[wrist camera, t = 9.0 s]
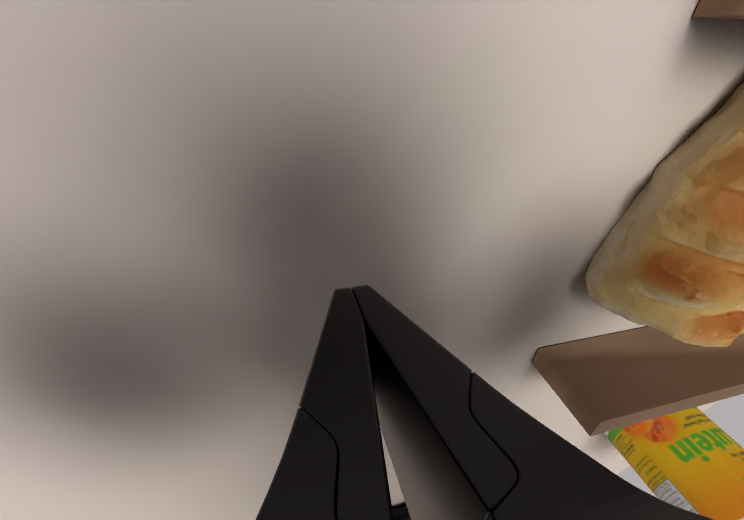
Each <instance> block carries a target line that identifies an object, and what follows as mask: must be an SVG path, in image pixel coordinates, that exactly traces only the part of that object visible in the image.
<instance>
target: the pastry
mask: <svg viewBox="0 0 744 520" xmlns="http://www.w3.org/2000/svg"><path fill="white" fill-rule="evenodd" d="M585 282H586V283H587V291H588V294H589V296H590V298H591V299H592V300H593V301H594V302H596V303H598V304H599V305H601V306H602V307H604V308H606V309H607V310H609V311H611V312H613V313H615V314H617V315H620V316H622V317H624V318H626V319H627V320H629V321H631V322H634V323H636V324H640V325H646V326H649V327H651V328H654V329H656V330H659V331H661V332H663V333H665V334H667V335H669V336H671V337H672V338H674V339H677V340H679V341H682V342H684V343H688V344H692V345H700V346H704V347H727V346H729V345H731V344H732V341H733V340H734V339H735V338H736V337H737V336H738V335H739V334H743V333H744V81H743V83H742V84H741V85H740V86H739V87H738V88H737V89H736V90H735V92H734V93H733V94H732V95H731V97H730V98H729V99H728V101H727V102H726V103H725V104H724V105H723V106H722V107H721V108H720V109H719V110H718V111H717V112H716V113H715V114H714V115H713V116H712V117H711V118H710V119H708V120H707V121H706V122H704V123H703V124H702V125H701V126H700V127H699V128H698V129H697V130H696V131H695V132H694V133H693V134H692V135H691V136H690V137H689V138H688V139H687V140H686V141H685V142H684V143H682V144H681V145H679V146H678V147H677V148H676V149H674V150H673V151H672V152H671V153H670V154H669V155H667V156H666V157H665V158H664V159H663V160H662V161H661V162H660V164H659V165H658V166H657V167H656V168H655V170H654V172H653V175H652V178H651V180H650V181H649V183H648V184H647V185H646V186H645V187H644V188H643V189H642V191H641V192H640V193H639V194H638V195H637V197H636V198H635V200H634V201H633V202H632V204H631V205H630V207H629V208H628V209H627V211H626V212H625V213H624V215H623V216H622V217H621V218H620V220H619V221H618V222H617V223H616V225H615V226H614V228H613V229H612V230H611V232H610V233H609V235H608V236H607V237H606V239H605V240H604V242H603V243H602V245H601V247H600V248H599V250H598V251H597V252H596V254H595V255H594V257H593V259H592V261H591V264H590V266H589V267H588V269H587V272H586V274H585Z"/></svg>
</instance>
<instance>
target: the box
mask: <svg viewBox="0 0 744 520" xmlns="http://www.w3.org/2000/svg"><path fill="white" fill-rule="evenodd" d="M693 17H696V18H714V19H732V20H744V0H700V2H699V4H698V6H697V9H696V11H695V13H694V15H693ZM532 364H533V365H534V366H535V367H536V369H537V370H538V371H539V372H540V374H541V375H542V376H543V378H544V379H545V380H546V381H547V383H548V384H549V385H550V386H551V388H552V389H553V390H554V391H555V393H556V394H557V395H558V396H559V398H560V399H561V400H562V402H563V403H564V404H565V405H566V407H567V408H568V409H569V410H570V412H571V413H572V414H573V415H574V417H575V418H576V419H577V420H578V422H579V423H580V424H581V426H582V427H583V428H584V429H585V431H586V432H587V433H588V434H589V436H593V435H596V434H600V433H603V432H607V431H611V430H614V429H618V428H621V427H625V426H629V425H632V424H636V423H639V422H643V421H647V420H650V419H654V418H657V417H661V416H664V415H668V414H672V413H675V412H679V411H682V410H686V409H690V408H693V407H697V406H700V405H704V404H708V403H711V402H715V401H718V400H722V399H725V398H729V397H732V396H736V395H740V394H743V393H744V333H743V334H739V335H738V336H737V337H736V338H735V339H734V340H733V341H732V344H731V345H729V346H727V347H704V346H700V345H692V344H688V343H684V342H682V341H679V340H677V339H674V338H672V337H671V336H669V335H667V334H665V333H663V332H661V331H659V330H656V329H654V328H651V327H649V326H648V327H643V328H638V329H633V330H628V331H623V332H618V333H613V334H608V335H603V336H598V337H593V338H588V339H583V340H578V341H573V342H568V343H563V344H558V345H553V346H548V347H543V348H538V351H537V353H536V355H535V357H534V359H533V361H532Z"/></svg>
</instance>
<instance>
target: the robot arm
mask: <svg viewBox="0 0 744 520" xmlns="http://www.w3.org/2000/svg"><path fill="white" fill-rule="evenodd" d="M471 372H472V371H471V369H470V368H468V367H467V366H466V365H465V364H464V363H462V362H461V361H460V360H459V359H458V358H456V357H455V356H454V355H453V354H451V353H450V352H449V351H448V350H447V349H445V348H444V347H443V346H442V345H441V344H439V343H438V342H437V341H436V340H434V339H433V338H432V337H431V336H430V335H428V334H427V333H426V332H425V331H424V330H422V329H421V328H420V327H419V326H417V325H416V324H415V323H414V322H413V321H411V320H410V319H409V318H408V317H407V316H405V315H404V314H403V313H402V312H400V311H399V310H398V309H397V308H396V307H394V306H393V305H392V304H391V303H390V302H388V301H387V300H386V299H385V298H383V297H382V296H381V295H380V294H379V293H377V292H376V291H375V290H374V289H373V288H371V287H370V286H368V285H363V286H356V287H353V288H352V289H351V288H349V287H348V288H340V289H336V290H335V291H334V293H333V296H332V299H331V302H330V306H329V309H328V312H327V316H326V319H325V322H324V325H323V329H322V332H321V335H320V339H319V342H318V345H317V348H316V352H315V355H314V358H313V361H312V365H311V368H310V371H309V375H308V378H307V381H306V384H305V388H304V391H303V394H302V397H301V401H300V404H299V409H298V410H297V413H296V416H295V420H294V423H293V426H292V429H291V432H290V435H289V438H288V441H287V444H286V447H285V450H284V452H283V455H282V458H281V461H280V463H279V466H278V468H277V470H276V473H275V475H274V478H273V480H272V483H271V485H270V488H269V490H268V493H267V495H266V497H265V499H264V502H263V504H262V506H261V509H260V511H259V513H258V515H257V518H256V520H714V519H711V518H708V517H705V516H702V515H699V514H696V513H694V512H691V511H688V510H685V509H682V508H679V507H677V506H674V505H672V504H669V503H667V502H665V501H663V500H660V499H658V498H656V497H654V496H652V495H650V494H648V493H646V492H644V491H642V490H640V489H639V488H637V487H635V486H633V485H632V484H630V483H628V482H627V481H625V480H623V479H622V478H620V477H619V476H617V475H616V474H614V473H613V472H611V471H610V470H608V469H607V468H606V467H604V466H603V465H601V464H600V463H598V462H597V461H595V460H594V459H592V458H591V457H590V456H588V455H587V454H585V453H584V452H582V451H581V450H579V449H578V448H576V447H575V446H574V445H572V444H571V443H569V442H568V441H566V440H565V439H563V438H562V437H560V436H559V435H558V434H556V433H555V432H553V431H552V430H550V429H549V428H547V427H546V426H544V425H543V424H542V423H540V422H539V421H537V420H536V419H535V418H533V417H532V416H530V415H529V414H528V413H526V412H525V411H523V410H522V409H521V408H519V407H518V406H516V405H515V404H514V403H512V402H511V401H510V400H508V399H507V398H506V397H505V396H503V395H502V394H501V393H500V392H498V391H497V390H496V389H494V388H493V387H492V386H491V385H489V384H488V383H487V382H486V381H484V380H483V379H482V378H481V377H480V376H478V375H477V374H476V373H475V372H473V373H471ZM380 427H381V430H382V433H383V436H384V439H385V442H386V445H387V448H388V451H389V454H390V457H391V460H392V463H393V466H394V469H395V472H396V475H397V478H398V481H399V484H400V487H401V490H402V493H403V496H404V499H405V502H406V505H407V506H404V507H400V508H397V509H393V510H392V505H391V498H390V492H389V485H388V478H387V471H386V465H385V458H384V451H383V444H382V438H381V431H380Z"/></svg>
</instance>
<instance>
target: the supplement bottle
mask: <svg viewBox="0 0 744 520" xmlns="http://www.w3.org/2000/svg"><path fill="white" fill-rule="evenodd" d="M604 433H605V435H606V436H607V437H608V439H609V440H610V441H611V442H612V444H613V445H614V446H615V447H616V448H617V450H618V451H619V452H620V453H621V454H622V456H623V457H624V458H625V459H626V460H627V462H628V463H629V464H630V465H631V466H632V468H633V469H634V470H635V471H636V473H637V474H638V475H639V476H640V477H641V479H642V480H643V481H644V482H645V483H646V484H647V486H648V487H649V488H650V489H651V491H652V492H653V493H654V494H655V495H656V497H657V498H658V499H660V500H663V501H665V502H667V503H669V504H672V505H674V506H677V507H679V508H682V509H685V510H688V511H691V512H694V513H696V514H699V515H702V516H705V517H708V518H711V519H714V520H744V449H743V448H742V447H741V446H740V445H739V444H738V443H737V442H735V441H734V440H733V439H732V438H731V437H730V436H728V435H727V434H726V433H725V432H724V431H723V430H722V429H720V428H719V427H718V426H717V425H716V424H715V423H714V422H713V421H711V420H710V419H709V418H708V417H707V416H706V415H705V414H704V413H702V412H701V411H700V410H699V409H698V408H697V407H693V408H690V409H686V410H682V411H679V412H675V413H672V414H668V415H664V416H661V417H657V418H654V419H650V420H647V421H643V422H639V423H636V424H632V425H629V426H625V427H621V428H618V429H614V430H611V431H607V432H604Z"/></svg>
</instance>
